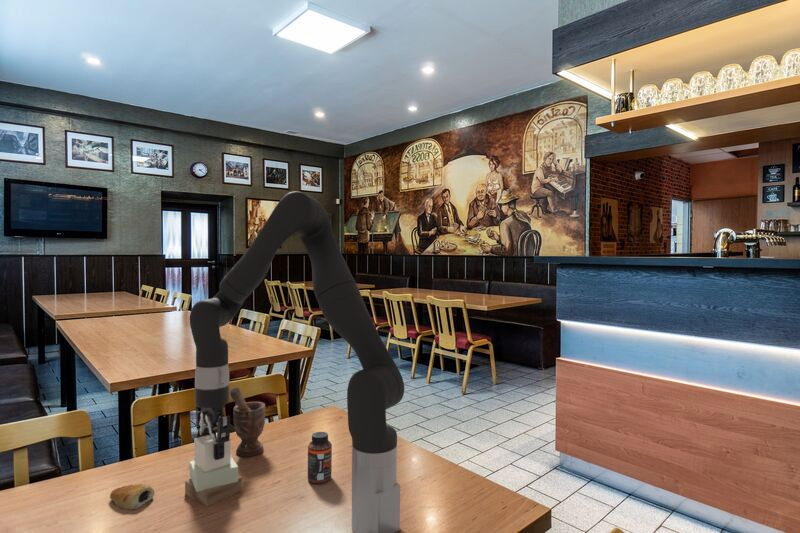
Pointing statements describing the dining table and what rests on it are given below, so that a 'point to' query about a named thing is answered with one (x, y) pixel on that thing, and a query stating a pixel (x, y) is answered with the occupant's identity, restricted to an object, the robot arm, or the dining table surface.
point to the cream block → (209, 453)
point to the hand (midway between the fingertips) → (212, 453)
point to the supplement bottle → (319, 458)
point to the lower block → (212, 492)
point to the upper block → (213, 476)
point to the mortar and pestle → (248, 423)
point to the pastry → (132, 495)
